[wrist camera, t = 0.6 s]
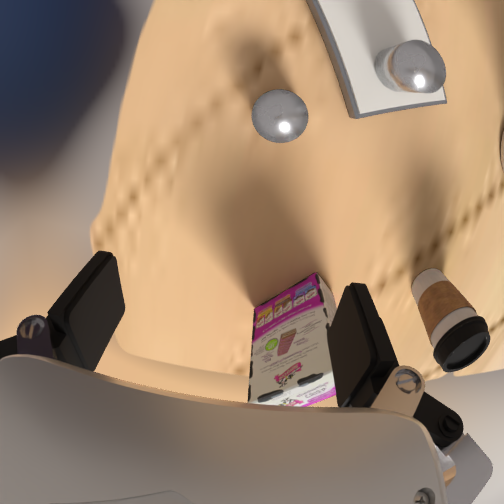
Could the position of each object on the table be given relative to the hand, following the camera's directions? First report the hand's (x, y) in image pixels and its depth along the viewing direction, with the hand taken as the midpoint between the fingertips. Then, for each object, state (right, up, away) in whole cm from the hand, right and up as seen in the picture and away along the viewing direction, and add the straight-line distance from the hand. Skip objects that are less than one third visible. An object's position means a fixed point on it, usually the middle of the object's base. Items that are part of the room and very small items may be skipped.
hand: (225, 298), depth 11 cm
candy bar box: (+7, -5, +30) cm, 31 cm away
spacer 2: (+16, +20, +11) cm, 28 cm away
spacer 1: (+4, +17, +17) cm, 24 cm away
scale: (+14, +27, +10) cm, 32 cm away
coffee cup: (+28, -3, +27) cm, 39 cm away
